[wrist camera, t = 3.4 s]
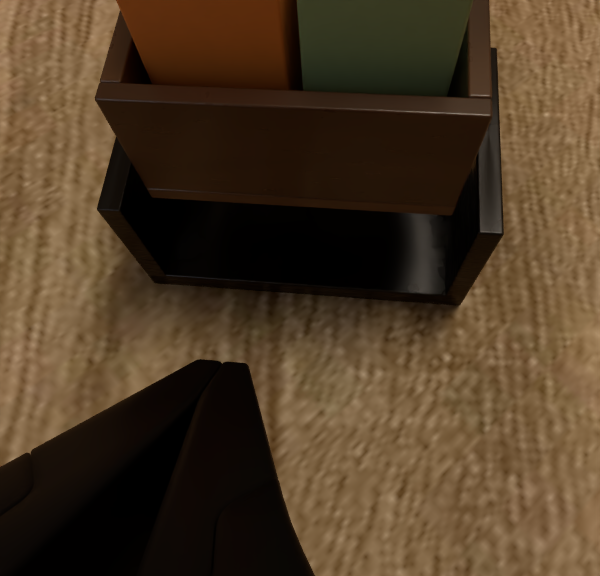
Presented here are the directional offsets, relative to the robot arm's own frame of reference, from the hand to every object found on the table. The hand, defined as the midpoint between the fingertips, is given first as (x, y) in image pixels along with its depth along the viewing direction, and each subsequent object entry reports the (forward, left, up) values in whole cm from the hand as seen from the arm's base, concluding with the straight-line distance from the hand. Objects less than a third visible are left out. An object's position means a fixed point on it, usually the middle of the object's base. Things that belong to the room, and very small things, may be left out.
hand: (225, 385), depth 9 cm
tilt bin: (+7, -8, -7) cm, 13 cm away
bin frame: (+7, -8, -13) cm, 17 cm away
